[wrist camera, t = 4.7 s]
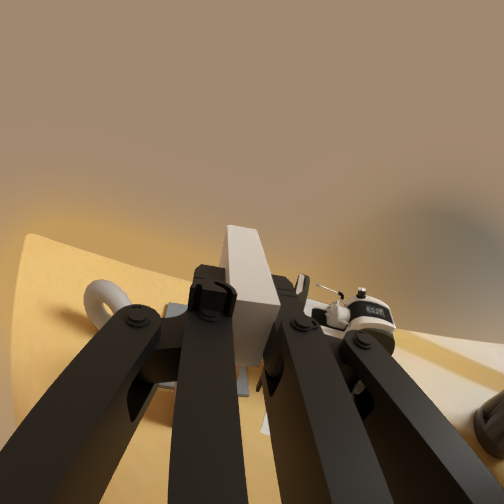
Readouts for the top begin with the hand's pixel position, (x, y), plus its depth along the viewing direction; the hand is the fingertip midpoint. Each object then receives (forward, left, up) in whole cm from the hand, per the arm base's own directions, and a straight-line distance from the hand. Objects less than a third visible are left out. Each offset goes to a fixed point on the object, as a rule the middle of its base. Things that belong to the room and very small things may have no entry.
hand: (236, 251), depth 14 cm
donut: (+12, -22, -27) cm, 37 cm away
